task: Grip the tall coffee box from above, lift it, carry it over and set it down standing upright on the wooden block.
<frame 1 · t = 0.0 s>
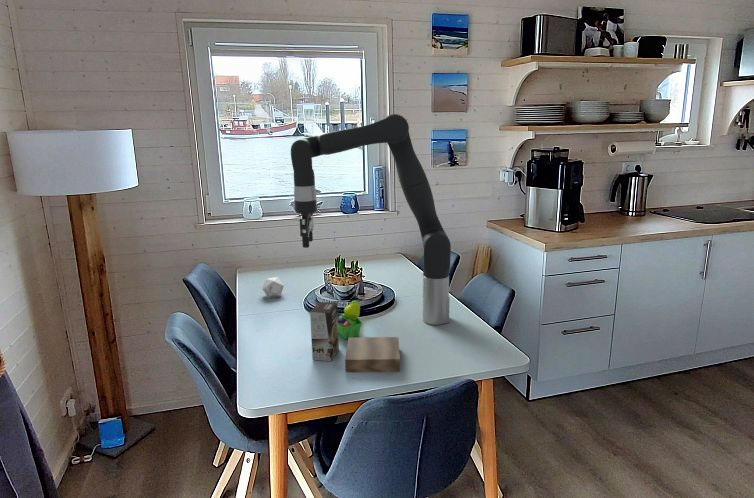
hand: (307, 244, 179), 29 cm above the table, tool pointing down, fingers open, 8 cm apart
die: (273, 296, 213), on the table
fruit basket: (348, 333, 177), on the table
coffee box: (326, 354, 161), on the table
wooden block: (373, 359, 157), on the table
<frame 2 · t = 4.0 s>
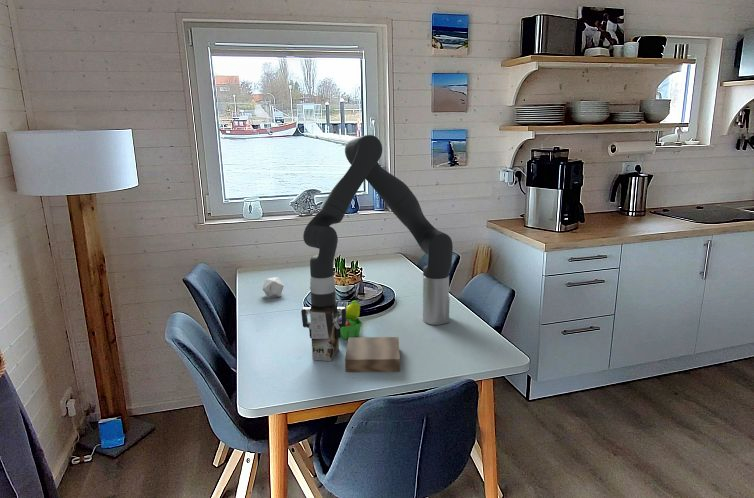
hand: (325, 338, 160), 5 cm above the table, tool pointing down, fingers closed on coffee box, 7 cm apart
coffee box: (326, 354, 161), on the table, touching gripper
everything else where it was.
when the fingers open (11 cm above the table, at t = 12.3 s): coffee box drops 1 cm, resting on wooden block.
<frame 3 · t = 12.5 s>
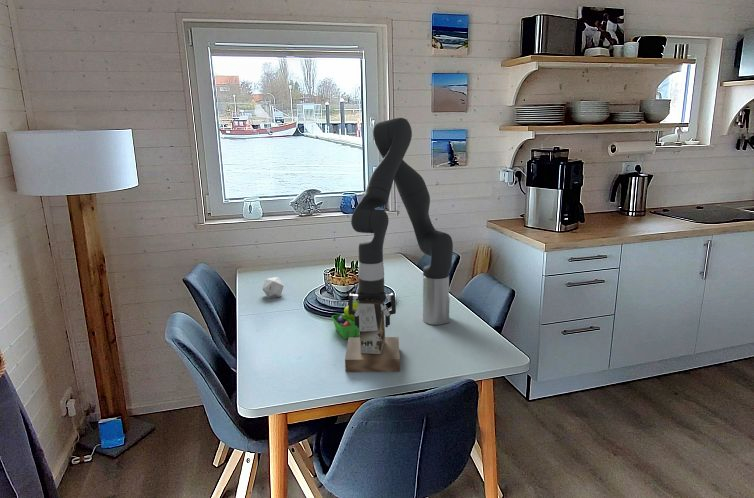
hand: (372, 326, 154), 11 cm above the table, tool pointing down, fingers open, 8 cm apart
coffee box: (373, 348, 156), point 4 cm above the table, touching wooden block
everything else where it was.
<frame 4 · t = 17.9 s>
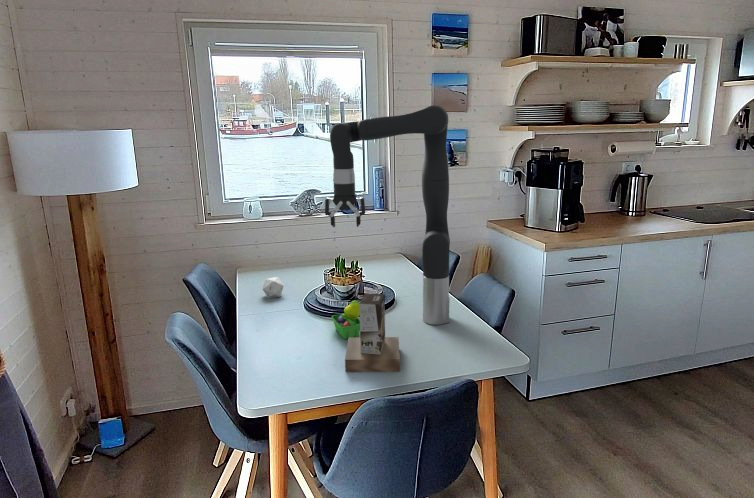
hand: (345, 226, 183), 34 cm above the table, tool pointing down, fingers open, 8 cm apart
nothing on the table moved.
at the end: coffee box inside the target area on the wooden block (0.1 cm from its centre), point 3.8 cm above the wooden block's base; coffee box tilted 0°; the gripper is holding nothing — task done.
